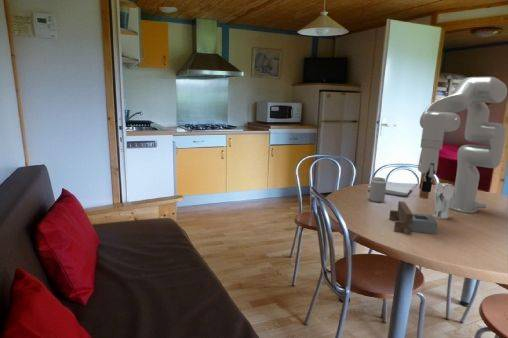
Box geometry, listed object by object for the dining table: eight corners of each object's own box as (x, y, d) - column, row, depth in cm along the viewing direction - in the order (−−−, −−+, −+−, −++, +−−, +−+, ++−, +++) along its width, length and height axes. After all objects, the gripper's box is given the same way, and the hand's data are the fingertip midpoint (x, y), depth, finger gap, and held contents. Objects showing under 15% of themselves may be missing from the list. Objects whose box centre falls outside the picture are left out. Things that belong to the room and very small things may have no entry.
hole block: (429, 225, 144) (431, 214, 143) (435, 233, 135) (437, 222, 134) (404, 222, 146) (405, 212, 146) (408, 230, 137) (409, 219, 136)
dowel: (427, 197, 139) (431, 167, 137) (428, 199, 136) (433, 169, 134) (418, 196, 140) (422, 167, 137) (420, 198, 137) (424, 168, 134)
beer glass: (447, 215, 158) (452, 183, 155) (450, 220, 151) (456, 187, 148) (431, 213, 160) (435, 182, 157) (433, 218, 154) (438, 185, 151)
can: (386, 203, 174) (389, 180, 172) (371, 202, 174) (373, 179, 172) (381, 199, 182) (383, 176, 179) (367, 198, 182) (369, 176, 179)
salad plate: (407, 198, 185) (407, 192, 185) (367, 192, 196) (367, 186, 195) (412, 190, 203) (413, 185, 202) (375, 185, 214) (376, 179, 213)
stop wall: (402, 219, 150) (404, 201, 149) (410, 234, 133) (413, 214, 132) (388, 217, 152) (390, 200, 150) (395, 232, 134) (397, 212, 133)
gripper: (416, 141, 142) (410, 185, 146) (425, 146, 127) (419, 194, 130) (436, 143, 141) (430, 186, 144) (448, 147, 125) (440, 196, 129)
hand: (424, 189), depth 137 cm, fingers closed on dowel, 3 cm apart
